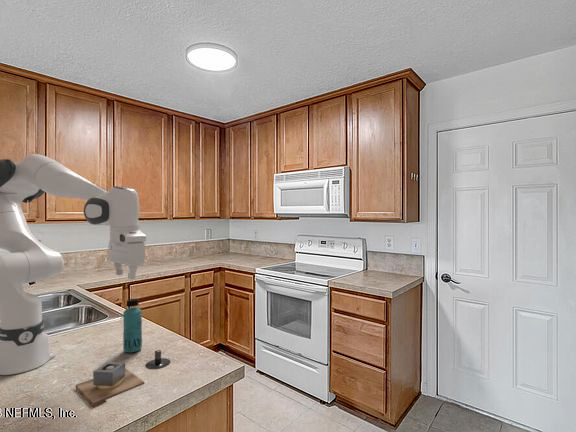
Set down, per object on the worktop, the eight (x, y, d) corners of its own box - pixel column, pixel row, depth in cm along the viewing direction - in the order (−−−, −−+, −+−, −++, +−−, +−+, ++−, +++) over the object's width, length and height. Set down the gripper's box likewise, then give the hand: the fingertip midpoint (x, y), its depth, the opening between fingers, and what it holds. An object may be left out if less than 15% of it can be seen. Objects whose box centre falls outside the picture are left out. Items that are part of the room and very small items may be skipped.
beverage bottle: (121, 357, 117) (120, 302, 116) (125, 350, 123) (124, 297, 123) (140, 355, 118) (140, 301, 118) (143, 348, 125) (143, 296, 125)
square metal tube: (93, 385, 94) (93, 371, 94) (107, 374, 100) (106, 361, 100) (112, 386, 94) (112, 372, 94) (125, 375, 100) (125, 362, 99)
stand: (140, 366, 110) (140, 351, 110) (163, 358, 116) (163, 344, 116) (152, 374, 105) (152, 358, 105) (175, 365, 111) (174, 350, 111)
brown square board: (75, 388, 96) (75, 368, 96) (124, 371, 107) (124, 353, 107) (93, 407, 87) (92, 385, 87) (144, 385, 98) (144, 366, 98)
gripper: (102, 234, 112) (103, 274, 112) (128, 237, 99) (128, 282, 99) (121, 233, 117) (121, 271, 117) (148, 236, 103) (149, 279, 104)
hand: (125, 276), depth 108 cm, fingers open, 8 cm apart
